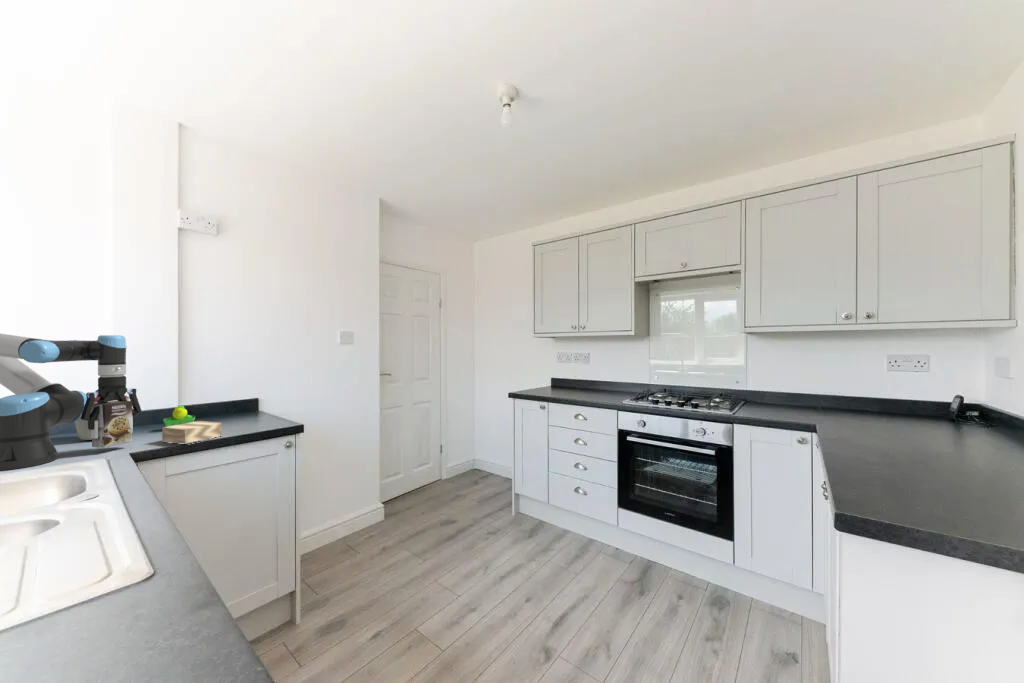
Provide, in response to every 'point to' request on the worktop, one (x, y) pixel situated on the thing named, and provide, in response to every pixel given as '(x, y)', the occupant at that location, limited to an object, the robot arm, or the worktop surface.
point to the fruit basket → (179, 417)
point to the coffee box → (113, 424)
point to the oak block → (191, 432)
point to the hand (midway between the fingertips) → (112, 435)
